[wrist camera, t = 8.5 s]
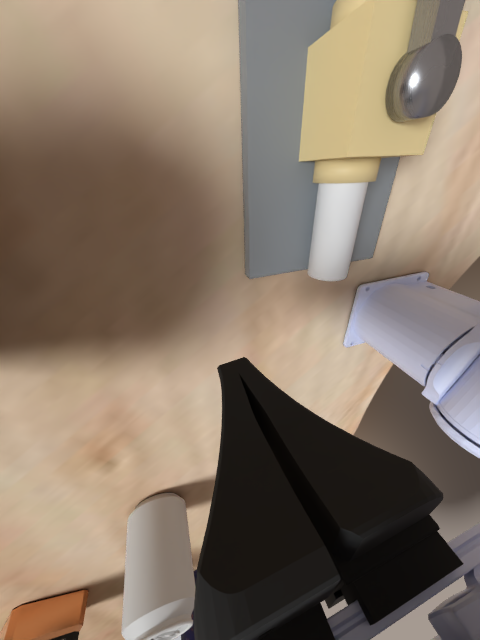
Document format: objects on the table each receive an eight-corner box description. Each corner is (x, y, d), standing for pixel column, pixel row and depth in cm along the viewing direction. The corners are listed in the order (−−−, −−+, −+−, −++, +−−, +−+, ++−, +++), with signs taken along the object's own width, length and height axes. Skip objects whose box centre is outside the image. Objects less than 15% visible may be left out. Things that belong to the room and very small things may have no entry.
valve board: (468, -156, 11) (678, -372, 7) (364, 255, 22) (418, 274, 18) (231, -265, 8) (333, -792, 4) (245, 274, 19) (275, 304, 14)
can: (121, 504, 30) (108, 662, 20) (180, 482, 32) (195, 616, 22) (136, 526, 34) (131, 666, 24) (187, 505, 36) (203, 627, 26)
